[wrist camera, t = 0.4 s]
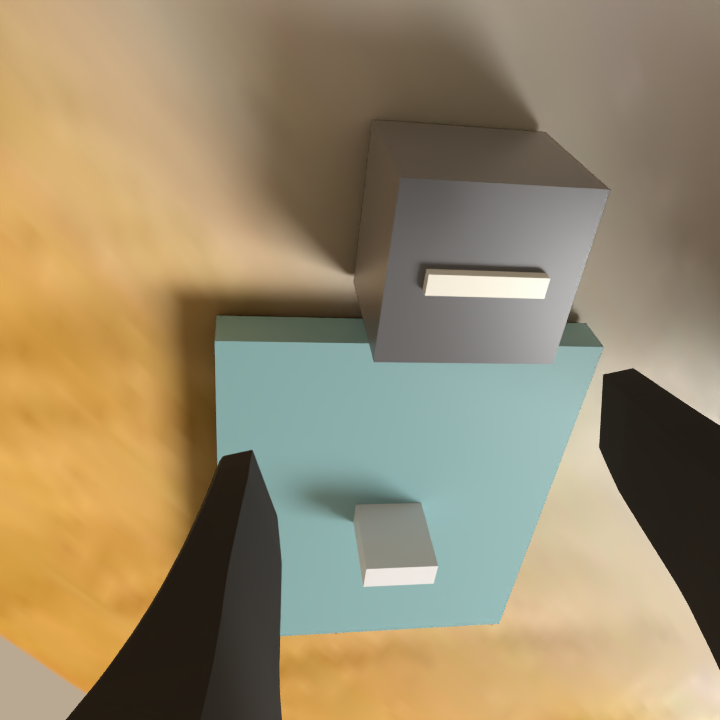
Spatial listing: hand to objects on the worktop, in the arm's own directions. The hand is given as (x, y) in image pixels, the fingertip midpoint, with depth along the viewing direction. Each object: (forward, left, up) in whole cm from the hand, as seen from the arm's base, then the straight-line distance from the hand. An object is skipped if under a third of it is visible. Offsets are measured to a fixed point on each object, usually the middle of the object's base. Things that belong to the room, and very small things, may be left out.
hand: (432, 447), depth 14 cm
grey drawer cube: (-2, -1, -9) cm, 10 cm away
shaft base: (-2, +11, -9) cm, 14 cm away
